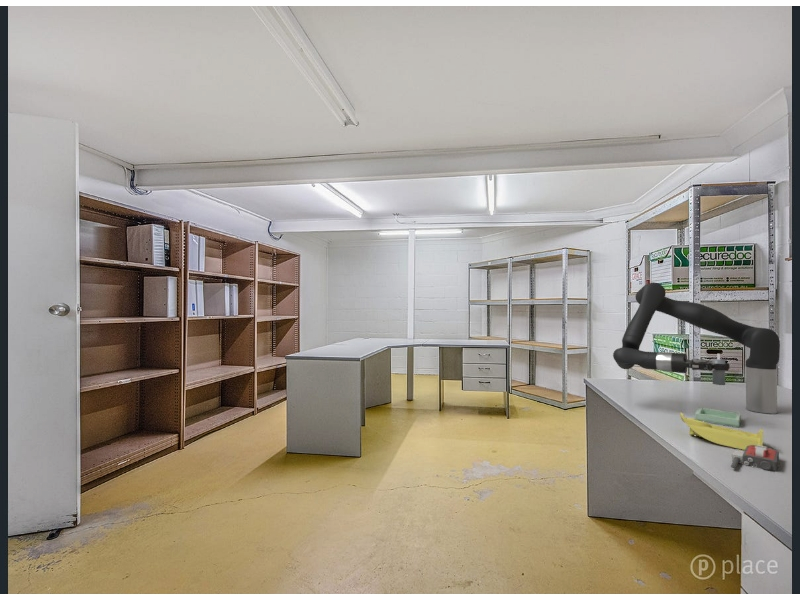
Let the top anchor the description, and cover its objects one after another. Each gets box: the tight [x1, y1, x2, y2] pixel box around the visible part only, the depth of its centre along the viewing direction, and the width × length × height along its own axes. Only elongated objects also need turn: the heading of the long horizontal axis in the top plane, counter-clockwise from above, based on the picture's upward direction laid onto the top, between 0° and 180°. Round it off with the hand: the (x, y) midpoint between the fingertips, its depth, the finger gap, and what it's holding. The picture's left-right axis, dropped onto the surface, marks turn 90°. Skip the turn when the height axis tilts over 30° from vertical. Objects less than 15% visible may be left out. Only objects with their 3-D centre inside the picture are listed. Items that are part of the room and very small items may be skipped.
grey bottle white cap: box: [711, 353, 726, 386], centre depth 143 cm, size 4×4×11 cm
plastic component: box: [679, 412, 764, 451], centre depth 121 cm, size 20×7×10 cm
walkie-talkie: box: [730, 445, 780, 472], centre depth 103 cm, size 9×4×20 cm
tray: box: [694, 407, 742, 429], centre depth 143 cm, size 12×12×3 cm
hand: (728, 367), depth 141 cm, fingers closed on grey bottle white cap, 3 cm apart
